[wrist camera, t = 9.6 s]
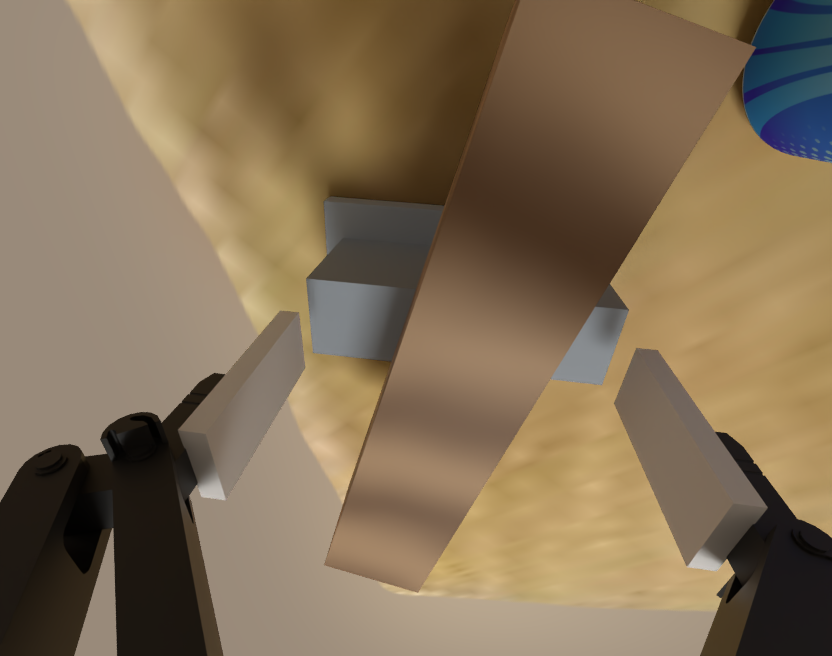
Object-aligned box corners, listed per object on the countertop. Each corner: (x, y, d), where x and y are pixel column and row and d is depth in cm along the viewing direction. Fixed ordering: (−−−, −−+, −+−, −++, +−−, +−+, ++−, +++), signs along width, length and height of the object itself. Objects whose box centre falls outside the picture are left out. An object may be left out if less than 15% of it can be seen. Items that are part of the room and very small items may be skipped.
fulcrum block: (330, 196, 23) (279, 232, 17) (614, 219, 22) (671, 267, 16) (336, 317, 27) (297, 382, 21) (577, 342, 26) (611, 419, 20)
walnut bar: (512, 8, 12) (533, -39, 8) (659, 63, 13) (756, 47, 8) (349, 483, 25) (324, 565, 20) (426, 506, 25) (417, 592, 21)
